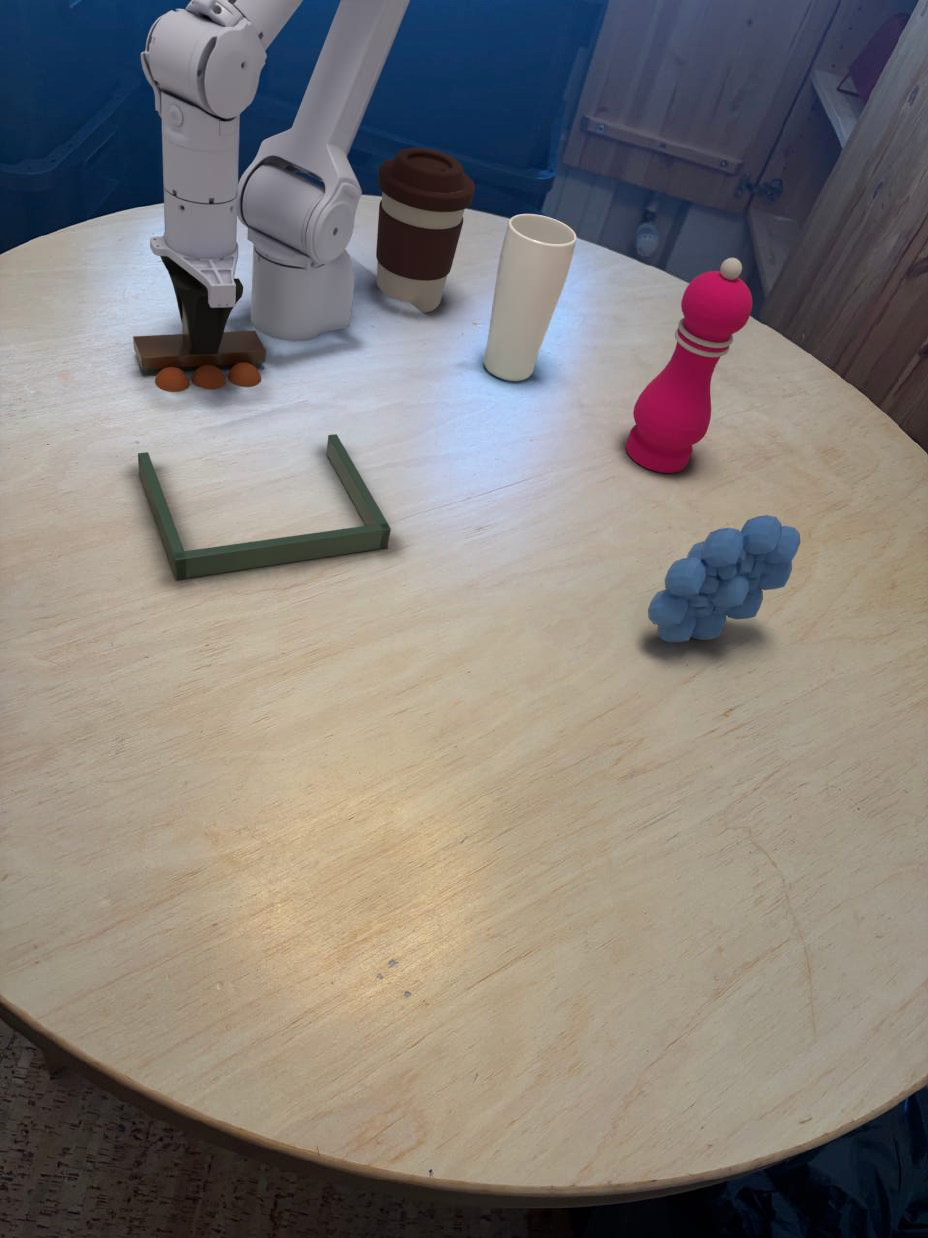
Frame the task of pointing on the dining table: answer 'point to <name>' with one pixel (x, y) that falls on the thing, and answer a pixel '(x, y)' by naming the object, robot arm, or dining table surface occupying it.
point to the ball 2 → (244, 375)
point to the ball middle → (209, 377)
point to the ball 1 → (172, 380)
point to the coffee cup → (419, 224)
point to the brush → (180, 354)
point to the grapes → (723, 579)
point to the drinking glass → (526, 292)
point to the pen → (278, 548)
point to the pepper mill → (689, 371)
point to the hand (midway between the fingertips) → (200, 341)
